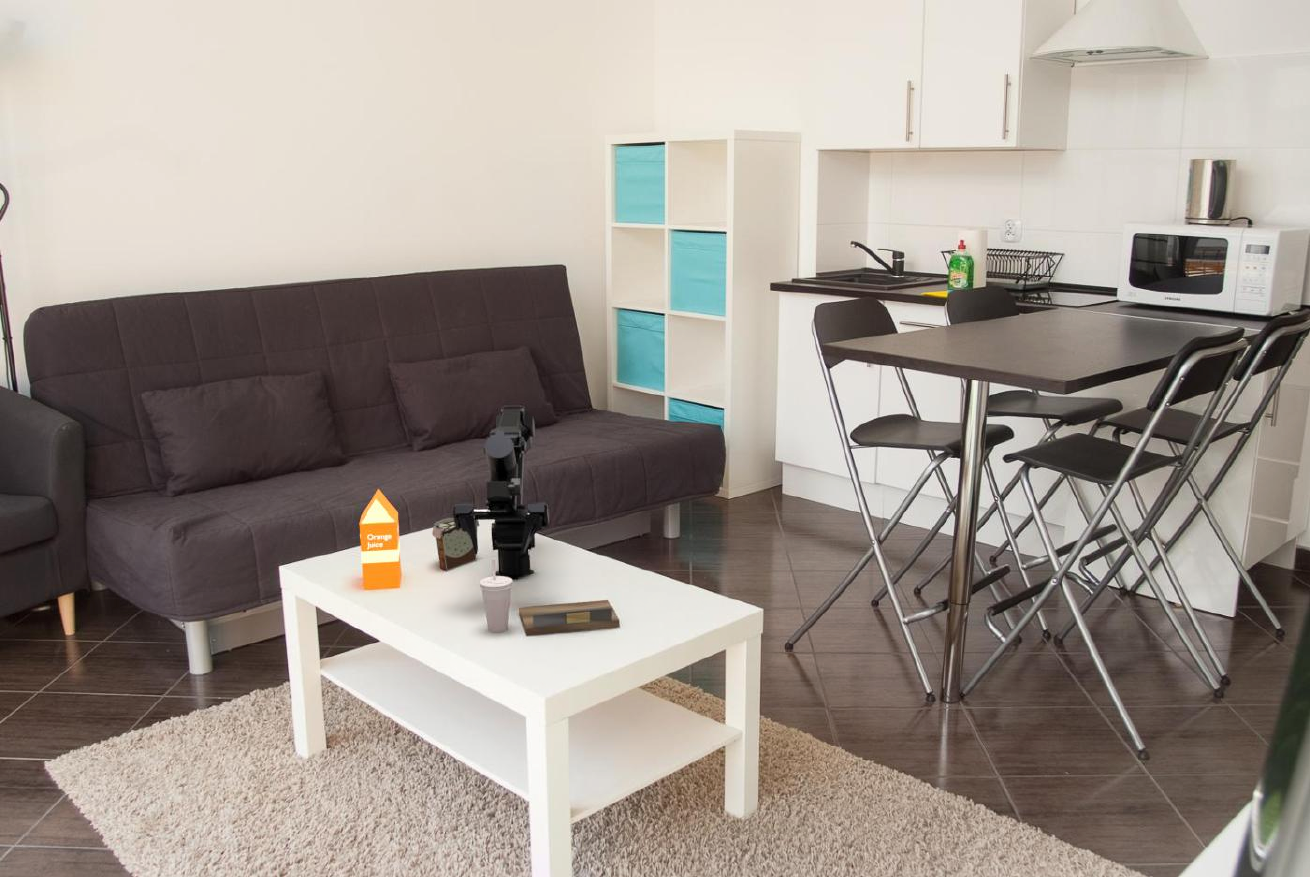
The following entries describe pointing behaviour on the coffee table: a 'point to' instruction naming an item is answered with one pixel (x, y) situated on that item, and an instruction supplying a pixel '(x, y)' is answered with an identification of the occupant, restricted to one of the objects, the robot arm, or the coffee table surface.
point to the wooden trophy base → (568, 617)
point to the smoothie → (496, 600)
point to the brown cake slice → (453, 545)
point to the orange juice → (380, 545)
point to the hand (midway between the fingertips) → (499, 552)
